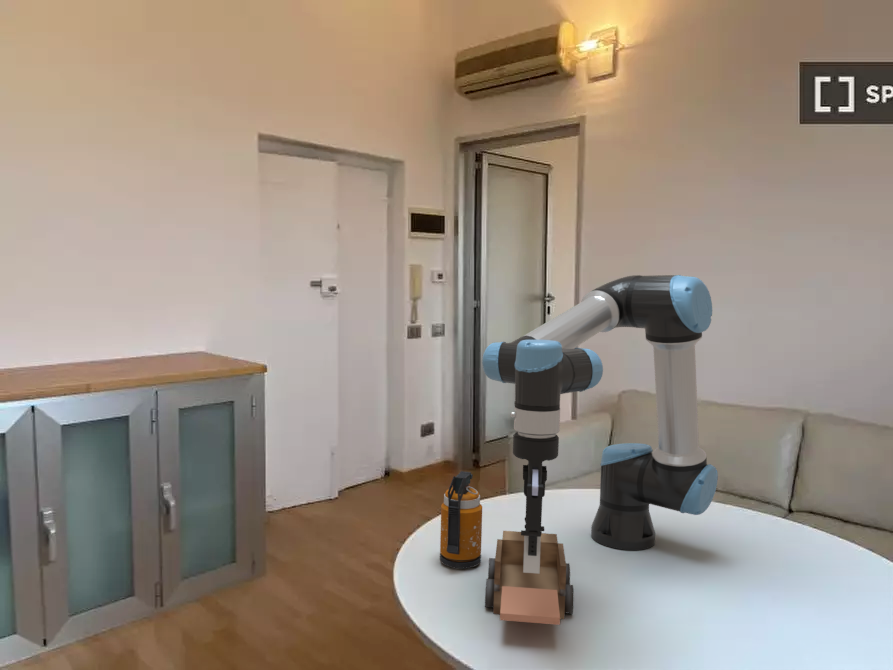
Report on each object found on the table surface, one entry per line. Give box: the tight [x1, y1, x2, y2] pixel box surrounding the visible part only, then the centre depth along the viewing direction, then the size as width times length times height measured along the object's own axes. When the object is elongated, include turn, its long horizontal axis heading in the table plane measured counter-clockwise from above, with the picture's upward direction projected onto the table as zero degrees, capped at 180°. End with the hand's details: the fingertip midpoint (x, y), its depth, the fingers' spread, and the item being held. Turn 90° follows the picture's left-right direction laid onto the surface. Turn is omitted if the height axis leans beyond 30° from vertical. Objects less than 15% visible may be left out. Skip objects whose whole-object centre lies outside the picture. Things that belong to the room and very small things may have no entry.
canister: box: [439, 470, 483, 570], centre depth 146 cm, size 9×11×20 cm
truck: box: [484, 530, 575, 620], centre depth 132 cm, size 16×17×10 cm
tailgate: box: [499, 586, 561, 626], centre depth 118 cm, size 10×2×10 cm
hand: (531, 571), depth 113 cm, fingers closed
